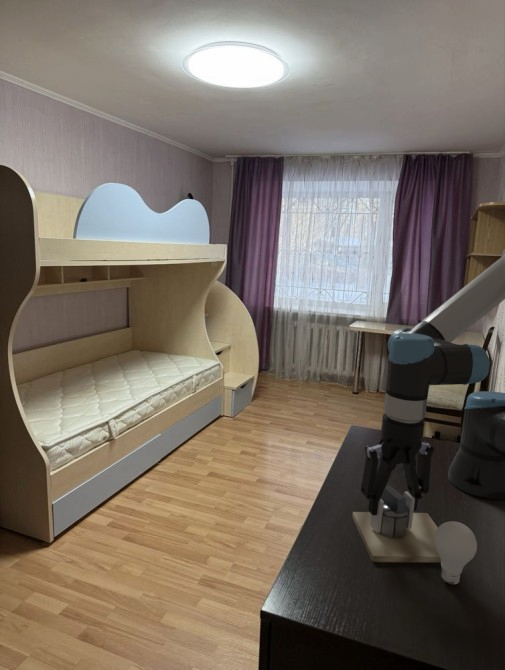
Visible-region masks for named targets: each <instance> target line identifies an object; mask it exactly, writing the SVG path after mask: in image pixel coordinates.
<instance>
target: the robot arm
mask: <svg viewBox="0 0 505 670" xmlns="http://www.w3.org/2000/svg"><path fill="white" fill-rule="evenodd" d="M503 301H505V248H504V249H503V250H502V252H501V257H500V258H499V259H497V260H496V261H494V263H492V264H491V265H489V266H488V267H487V268H486V269H485V270H484V271H483V272H481V273H480V274H479V275H477V276H476V277H474V278H473V279H472V280H470V282H469V283H467V284H466V285H465V286H463V287H462V288H461V289H460V290H459V291H458V292H456V293H455V294H453V295H452V296H451V297H450V298H448V299H447V300H446V301H445V302H444V303H442V304H441V305H440V306H439V307H437V308H436V309H435V310H434V311H432V312H431V313H430V314H428V315H427V316H426V317H425V318H423V319H422V320H421V321H420V322H418V323H417V324H415V326H413V327H412V328H409V327H403V328H399V329H395V330H394V331H393V332H392V333H391V335H390V336H389V338H388V341H387V349H388V350H387V351H388V352H389V353H388V357H387V359H388V362H387V375H386V382H385V384H386V385H385V393H384V401H383V402H384V405H383V412H384V413H383V415H382V420H381V427H380V429H381V438H380V440H379V441H378V444H376V445H373V446H371V445H368V444H367V445H366V446H365V447H364V452H365V461H364V462H365V463H364V468H363V475H362V480H361V485H360V492H361V494H362V495H363V496H364V497H365V498H366V499H367V500H368V509H367V510H368V512H370V513H371V521H370V525H371V526H372V527H373V529H374V530H375V531H376V532H377V533H379V532H380V531H381V522H382V513H383V504H384V501H383V500H382V499H381V496H382V494H383V492H384V489H385V487H386V485H388V483H389V479H390V477H391V474H392V472H393V471H395V469H396V467H397V465H400V464H402V465H403V466H402V467H403V471H404V477H405V481H406V482H405V483H406V486H407V491H403V496H404V497H405V498H406V506H407V507H408V512H409V513H408V523H407V528H408V529H411V527H412V519H413V513H415V512H416V511H417V508H418V502H419V500H422V498H423V497H424V496H423V495H422V494H427V493H429V491H430V490H429V489H430V475H431V461H432V458H433V457H432V456H433V453H434V451H435V447H434V446H433V445H431V444H430V443H428V442H427V441H421V440H422V439H423V437H424V429H425V420H424V419H425V418H426V414H427V404H428V397H429V392H430V391H429V390H430V386H453V385H454V386H455V385H463V386H467V385H470V384H477V383H481V382H482V381H484V380H485V378H487V376H488V374H489V372H490V365H491V363H490V357H489V355H488V353H487V351H486V350H485V349H484V348H483V347H482V346H480V345H477V344H468V343H463V344H457V343H453V342H454V341H455V340H456V339H457V338H459V337H460V336H461V335H463V333H465V332H466V331H468V329H470V328H471V327H473V326H474V325H475V324H476V323H477V322H478V321H480V320H481V319H482V318H483V317H485V316H486V315H487V314H489V312H491V311H493V309H495V308H496V307H497V306H498V305H499V304H501V303H502V302H503ZM463 408H464V411H463V420H462V427H461V435H460V443H459V449H458V451H457V453H456V454H455V456H454V458H453V460H452V461H451V463H450V465H449V467H448V473H447V478H448V481H449V482H450V483H451V484H452V485H453V486H454V487H456V488H458V489H459V490H461V491H463V492H465V493H466V494H469V495H472V496H475V497H478V498H483V499H486V500H487V499H488V500H497V501H499V500H505V392H501V391H500V392H499V391H488V390H487V391H486V390H485V391H475V392H472V393H469V395H468V396H467V398H466V403H465V407H463ZM381 453H382V455H381V456H380V454H381ZM416 455H417V461H416ZM379 459H380V460H379ZM379 462H380V464H379ZM416 467H417V468H416Z"/></svg>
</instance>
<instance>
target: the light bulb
mask: <svg viewBox="0 0 505 670" xmlns="http://www.w3.org/2000/svg"><path fill="white" fill-rule="evenodd" d="M437 527H438V529H437V530H436V532H435V536H434V542H435V547H436V549H437V551H438V553H439V555H440V558H441V562H440V565H441V570H440V571H441V572H440V576H441V579H442V580H443V581H444V582H446V584H450V585H457V584H459V583H460V580H461V579H460V578H461V574H462V572H463V569H464V568H465V565H467V564H468V563H469V562H470V561H471V560H472V559H474V557H475V555H476V553H477V550H478V543H477V538H476V535H474V532H473V531H472V530H471V528H469V527H468V525H465V524H463V523H461V522H459V521H454V520H451V521H446V522H444V523H441V524H440V525H439V526H437Z"/></svg>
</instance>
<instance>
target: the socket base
mask: <svg viewBox="0 0 505 670" xmlns="http://www.w3.org/2000/svg"><path fill="white" fill-rule="evenodd" d="M351 517H352V520H353V522H354V524H355V527H356V528H357V531H358V533H359V536H360V538H361V539H362V542H363V544H364V547H365V549H366V551H367V554H368V556H369V557H370V560H371V562H372V563H441V558H440V555H439V553H438V551H437V549H436V547H435V542H434V536H435V532H436V530H437V529H438V527H439V526H437V525H436V523H435V521H433V519H432V517H431V516H430V515H429V514H428V513H427V512H413V519H412V527H411V529H408V528H407V531H406V534H405V536H404V537H399V538H391V537H387V536H384V535H381V534H380V533H377V532H376V531H375V530H374V529H373V527H372V526H371V525H370V521H371V513H370V512H369V511H352V515H351Z"/></svg>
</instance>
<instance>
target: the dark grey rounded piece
mask: <svg viewBox="0 0 505 670" xmlns="http://www.w3.org/2000/svg"><path fill="white" fill-rule="evenodd" d="M381 499H382V500H383V501H384V504H383V513H382V522H381V531H380V532H379V533H380V534H381V535H384V536H387V537H391V538H399V537H404V536H405V534H406V531H407V523H408V513H409V512H408V507H407V506H406V498H405V497H404V495H402V493H400V492H399V491H397V489H395V488H394V487H392V486H391V484H386V487H385V489H384V492H383V494H382V496H381Z"/></svg>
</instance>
